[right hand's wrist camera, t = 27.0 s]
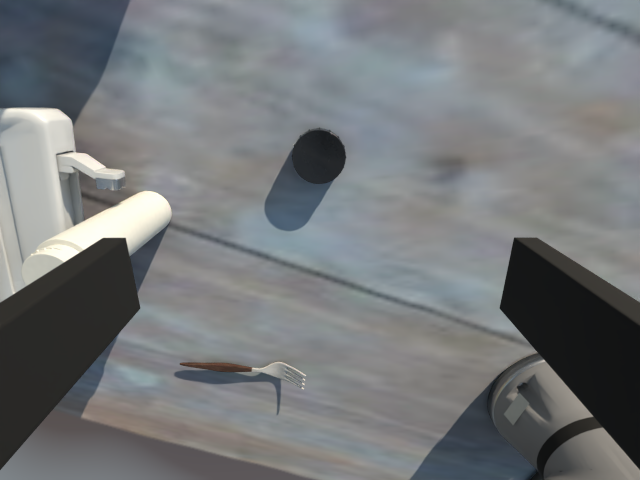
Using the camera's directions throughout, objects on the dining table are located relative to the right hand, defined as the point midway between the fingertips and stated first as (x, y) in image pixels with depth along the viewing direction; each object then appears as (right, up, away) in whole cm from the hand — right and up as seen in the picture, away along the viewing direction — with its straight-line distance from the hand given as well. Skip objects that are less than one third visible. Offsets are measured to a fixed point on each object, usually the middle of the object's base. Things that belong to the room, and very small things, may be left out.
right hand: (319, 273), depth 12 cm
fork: (-10, -15, +34) cm, 39 cm away
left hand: (-18, +2, +21) cm, 28 cm away
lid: (0, +9, +23) cm, 25 cm away
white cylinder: (-18, +4, +27) cm, 33 cm away
